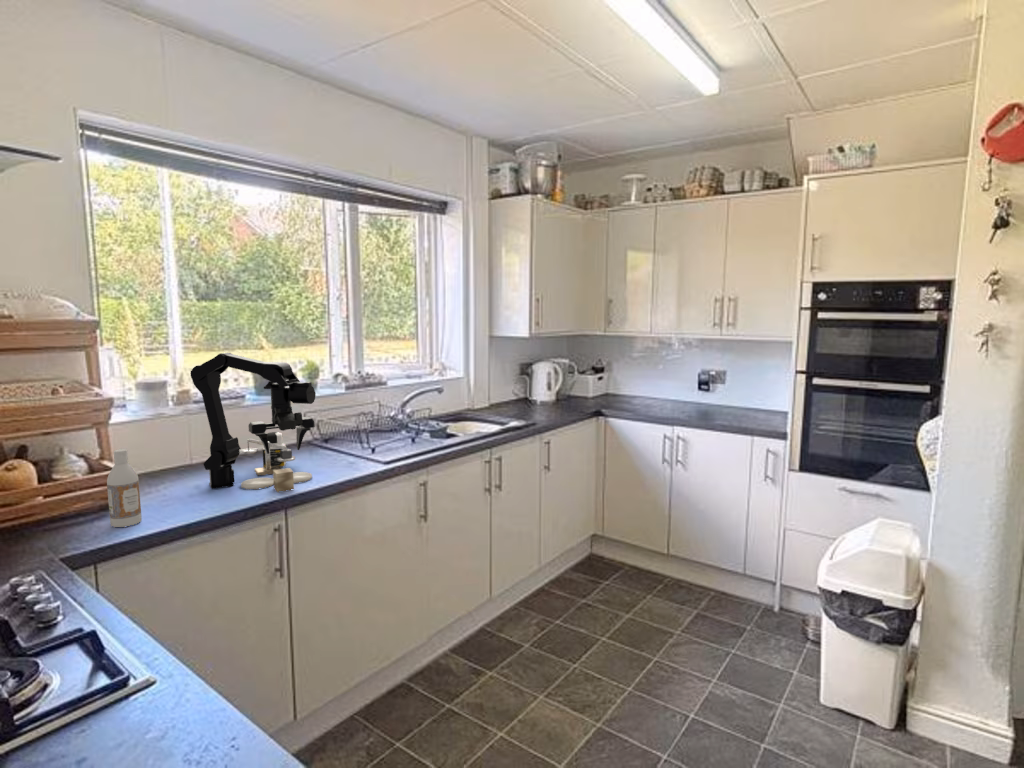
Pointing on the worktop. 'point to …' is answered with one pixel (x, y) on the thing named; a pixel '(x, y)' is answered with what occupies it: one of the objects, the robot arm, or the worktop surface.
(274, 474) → the beech block
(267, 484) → the dish left
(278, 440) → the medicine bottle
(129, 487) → the bath foam
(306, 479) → the dish right
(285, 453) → the balance
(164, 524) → the worktop surface
